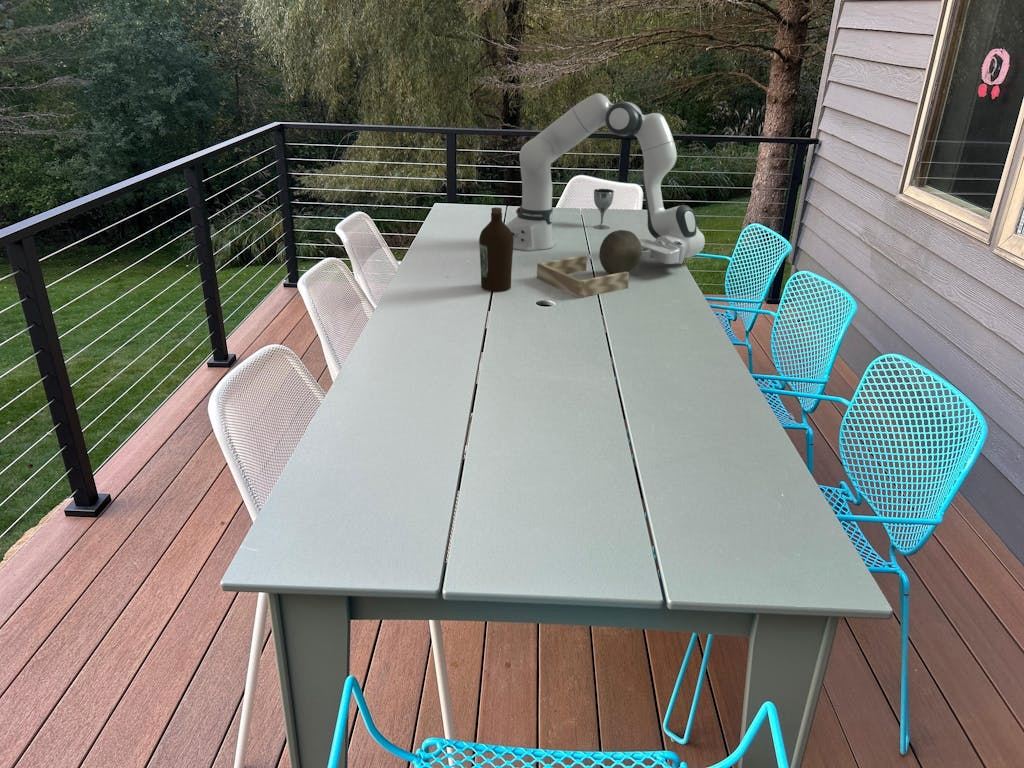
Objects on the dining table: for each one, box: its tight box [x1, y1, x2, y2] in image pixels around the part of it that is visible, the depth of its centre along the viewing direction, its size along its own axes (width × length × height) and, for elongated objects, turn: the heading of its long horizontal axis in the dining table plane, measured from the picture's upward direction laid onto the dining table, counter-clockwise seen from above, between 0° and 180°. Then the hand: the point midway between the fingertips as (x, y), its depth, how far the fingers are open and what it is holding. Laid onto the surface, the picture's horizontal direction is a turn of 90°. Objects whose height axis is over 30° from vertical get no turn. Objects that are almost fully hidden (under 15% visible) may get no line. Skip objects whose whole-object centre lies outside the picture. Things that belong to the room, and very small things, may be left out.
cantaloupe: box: [598, 229, 642, 275], centre depth 253 cm, size 14×14×15 cm
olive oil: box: [478, 207, 514, 293], centre depth 237 cm, size 11×11×25 cm
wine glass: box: [592, 188, 615, 230], centre depth 313 cm, size 8×8×15 cm
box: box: [536, 254, 630, 299], centre depth 247 cm, size 20×23×5 cm
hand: (635, 254), depth 257 cm, fingers closed
